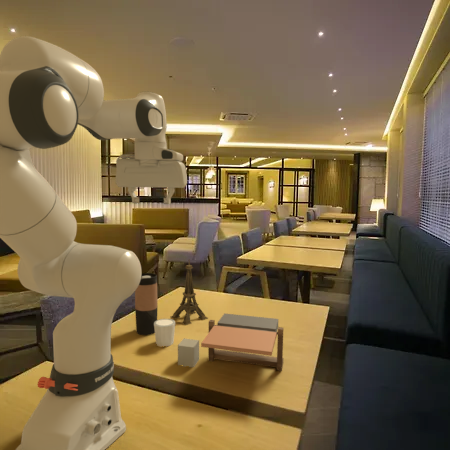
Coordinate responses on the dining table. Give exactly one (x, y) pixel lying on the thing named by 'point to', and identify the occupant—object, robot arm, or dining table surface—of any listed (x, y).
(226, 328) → the trapdoor
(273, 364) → the frame
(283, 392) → the dining table surface
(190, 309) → the eiffel tower
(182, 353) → the grey block
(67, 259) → the robot arm
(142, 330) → the travel mug
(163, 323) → the shot glass
